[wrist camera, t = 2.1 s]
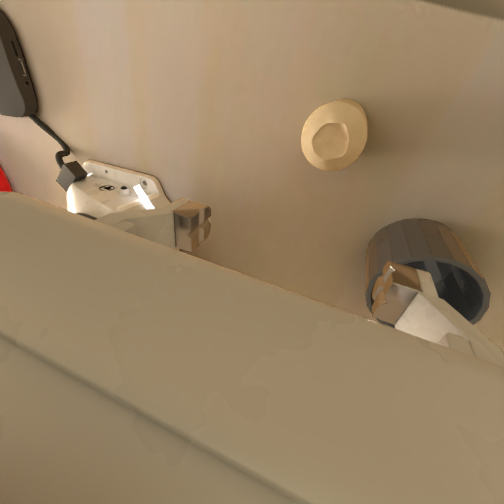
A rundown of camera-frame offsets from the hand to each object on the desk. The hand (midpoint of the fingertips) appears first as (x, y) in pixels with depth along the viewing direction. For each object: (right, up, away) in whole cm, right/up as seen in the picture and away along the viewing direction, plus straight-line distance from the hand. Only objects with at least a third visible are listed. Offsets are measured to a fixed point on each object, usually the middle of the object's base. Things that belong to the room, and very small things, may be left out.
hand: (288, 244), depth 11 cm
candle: (+8, +14, +17) cm, 24 cm away
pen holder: (+19, -1, +22) cm, 29 cm away
